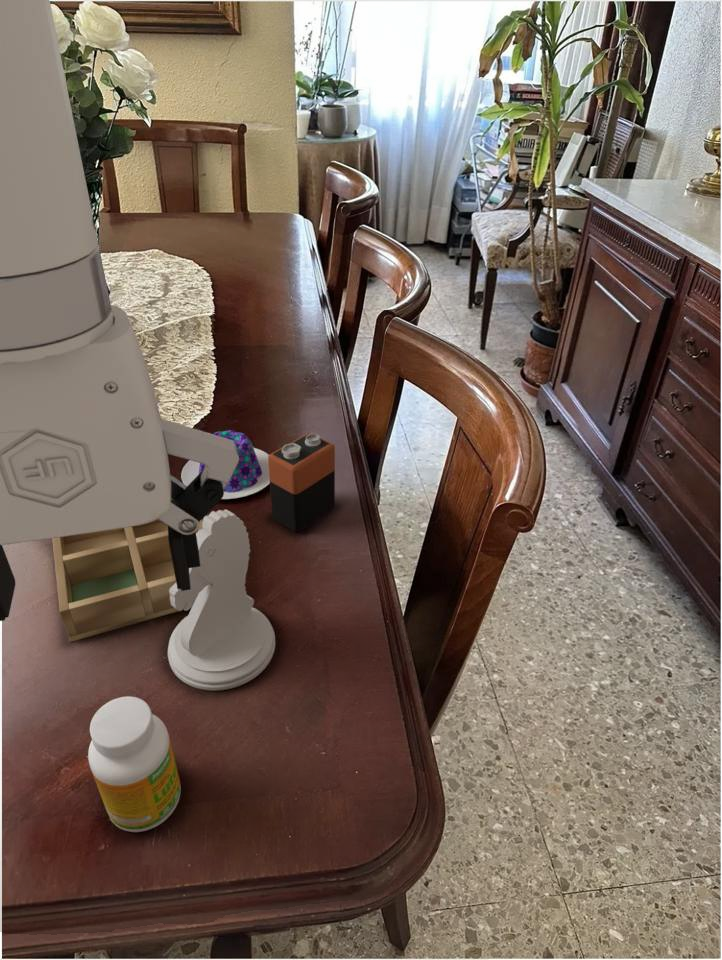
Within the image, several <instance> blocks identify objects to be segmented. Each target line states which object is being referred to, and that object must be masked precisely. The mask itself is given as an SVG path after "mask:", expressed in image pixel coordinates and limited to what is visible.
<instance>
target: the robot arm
mask: <svg viewBox="0 0 722 960" xmlns="http://www.w3.org/2000/svg"><path fill="white" fill-rule="evenodd" d="M54 20H55V19H54V15H53V10H52V4H51V0H0V622H3V621H5V620H6V619H7V618H9V617H10V612H11V608H12V603H13V600H14V599H13V598H14V593H15V589H16V578H15V576H14V573H13V570H12V567H11V565H10V563H9V560H8V557H7V554H6V552H5V549H4V547H3V546H4V545H13V544H21V543H27V542H35V541H42V540H50V539H51V540H52V538H58V537H65V536H72V535H79V534H86V533H93V532H100V531H107V530H113V529H120V528H126V527H132V526H138V525H142V524H146V523H149V522H152V521H154V520H157V519H159V520H160V521H162V522H163V523H165V524H167V525H168V539H169V546H170V552H171V557H172V562H173V568H174V573H175V578H176V584H177V589H181V591H185V590H191V587H190V575H189V568H194V567H200V558H199V550H198V543H197V537H196V531H197V530H198V529H199V521H200V520H201V519H202V520H203V518H204V517H205V516H207V515H208V513H209V512H211V510H213V509H214V507H216V505H218V503H219V502H220V501H221V500H223V499H222V497H223V495H224V489H225V487H226V485H227V483H229V480H230V478H231V476H232V474H233V472H234V470H235V468H236V466H237V464H238V462H239V455H238V450H237V446H236V443H235V442H234V441H232V440H230V439H226V438H223V437H220V436H217V435H213V434H214V433H210V432H207V431H204V430H200V429H197V428H193V427H190V426H187V425H184V424H180V423H177V422H173V421H171V420H168V419H164V418H162V416H161V413H160V409H159V405H158V401H157V397H156V393H155V390H154V386H153V383H152V382H153V381H152V379H151V375H150V372H149V369H148V366H147V363H146V359H145V356H144V353H143V351H142V347H141V344H140V342H139V340H138V338H137V335H136V332H135V330H134V328H133V325H132V323H131V321H130V318H129V316H128V314H127V312H126V311H125V310H124V309H123V308H121V307H120V306H117V305H115V304H114V305H113V304H111V299H110V294H109V289H108V284H107V279H106V275H105V269H104V264H103V260H102V259H103V258H102V254H101V251H100V250H101V249H100V244H99V240H98V234H97V229H96V225H95V222H94V221H95V220H94V217H93V216H94V214H93V210H92V205H91V201H90V195H89V190H88V185H87V180H86V176H85V171H84V166H83V161H82V155H81V150H80V146H79V141H78V140H79V139H78V136H77V130H76V124H75V120H74V115H73V109H72V106H71V100H70V96H69V91H68V86H67V80H66V74H65V71H64V70H65V69H64V65H63V61H62V55H61V51H60V45H59V40H58V35H57V31H56V26H55V25H56V24H55V21H54ZM168 455H170V456H174V457H177V458H180V459H185V460H188V461H189V460H191V461H195V462H198V463H202V464H204V465H205V468H204V470H203V471H202V472H201V473H200V474H199V475H198V476H197V477H196V478H195V479H194V480H193V481H192V482H191V483H190V484H189V485H188V486H186V485H184V483H183V481H181V480H179V479H178V478H176V477H175V476H173V475H172V474H171V471H170V470H171V468H170V462H169V456H168Z"/></svg>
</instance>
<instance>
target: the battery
mask: <svg viewBox="0 0 722 960" xmlns="http://www.w3.org/2000/svg"><path fill="white" fill-rule="evenodd" d="M335 454H336V447H335V444H333V443H332V442H329V441H327V440H326V439H323V438H321V437H320V435H319V434H317V433H310V432H308V433H305V434H303V435H302V436H300V437H298V438H297V439H295V440H293V441H291V442H289V443H287V444H284V445H282V447H280V448H279V449H277V450H275V451H272V453H270V454H268V455H269V456H268V463H269V478H270V484H269V487H270V488H269V490H270V503H271V505H270V506H271V518H272V519H273V520H274V521H276V522H277V523H279V524H281V525H283V526H284V527H286V528H287V529H289V530H291V531H293V532H294V533H299V532H301V531H302V530H304V529H305V528H307V527H308V526H309V525H311V524H313V523H314V522H315V521H317V520H319V519H320V518H322V517H323V516H325V514H327V513H329V512H330V511H331V510H333V509H334V508H335V505H336V497H335V496H336V489H335V488H336V455H335Z"/></svg>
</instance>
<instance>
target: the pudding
mask: <svg viewBox="0 0 722 960" xmlns="http://www.w3.org/2000/svg"><path fill="white" fill-rule="evenodd" d="M212 434H213V435H217V436H220V437H223V438H226V439H230V440H232V441H234V442H235V443H236V446H237V450H238V455H239V462H238V464H237V466H236V468H235V470H234V472H233V474H232V476H231V478H230V480H229V483H227V485H226V487H225V489H224V495H223V497H222V499H221V500H231V499H239V498H243V497H248V496H250V495H254V494H256V493H258V492H260V491H262V490H263V489H265V488H266V487H267V486H269V485H270V478H269V463H268V456H269V455H270V454H269V453H267V452H266V451H263V450H262V449H259V448H256V447H254V446H253V443H252V441H251V440H250V439H249V437H248V435H246V433H244V432H242V431H240V432H239V431H236V430H231V429H229V430H228V429H227V430H225V431H221V430H219V431H215V432H214V433H212ZM204 468H205V465H204V464H202V463H198V462H195V461H191V460H188V461H187V463H185V464H184V466H183V468H182V470H181V474H180V475H181V476H180V478H181V482H182V483H183V484H184V485H186V486H188V485H189V484H190V483H191V482H192V481H193V480H194V479H195V478H196V477H197V476H198V475H199V474H200V473H201V472H202V471H203V470H204Z"/></svg>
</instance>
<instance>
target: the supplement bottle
mask: <svg viewBox="0 0 722 960" xmlns="http://www.w3.org/2000/svg"><path fill="white" fill-rule="evenodd" d="M89 734H90V738H91V741H90V743H89V747H88V751H87V758H88V759H87V760H88V765H89V768H90V771H91V774H92V776H93V779H94V781H95V784H96V786H97V789H98V792H99V794H100V797H101V799H102V802H103V805H104V808H105V811H106V814H107V815H108V817H109V820H110V821H111V823H112V824H113V825H115V826H116V827H117V828H118V829H120V830H122V831H125V832H131V833H141V832H146V831H149V830H152V829H154V828H156V827H158V826H159V825H161V824H162V823H164V822H165V821H166V820H167V819H169V817H170V816H171V815H172V814H173V813H174V811H175V809H176V808H177V806H178V805H179V804H178V803H179V802H180V797H181V791H182V788H181V787H182V786H181V780H180V775H179V772H178V768H177V767H178V766H177V763H176V759H175V755H174V751H173V750H174V749H173V746H172V742H171V739H170V735H169V732H168V729H167V726H166V725H165V723H164V722H163V721H162V720H161V718H160V717H158V716H157V715H155V714H153V713H152V710H151V707H150V706H149V704H148V703H147V702H146V701H145V700H143V699H141V698H139V697H137V696H121V697H116V698H114V699H111V700H110V701H108V702H106V703H104V704H103V705H102V706H101V707H100V708H98V710H97V711H96V712H95V713H94V715H93V717H92V719H91V721H90V725H89Z"/></svg>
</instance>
